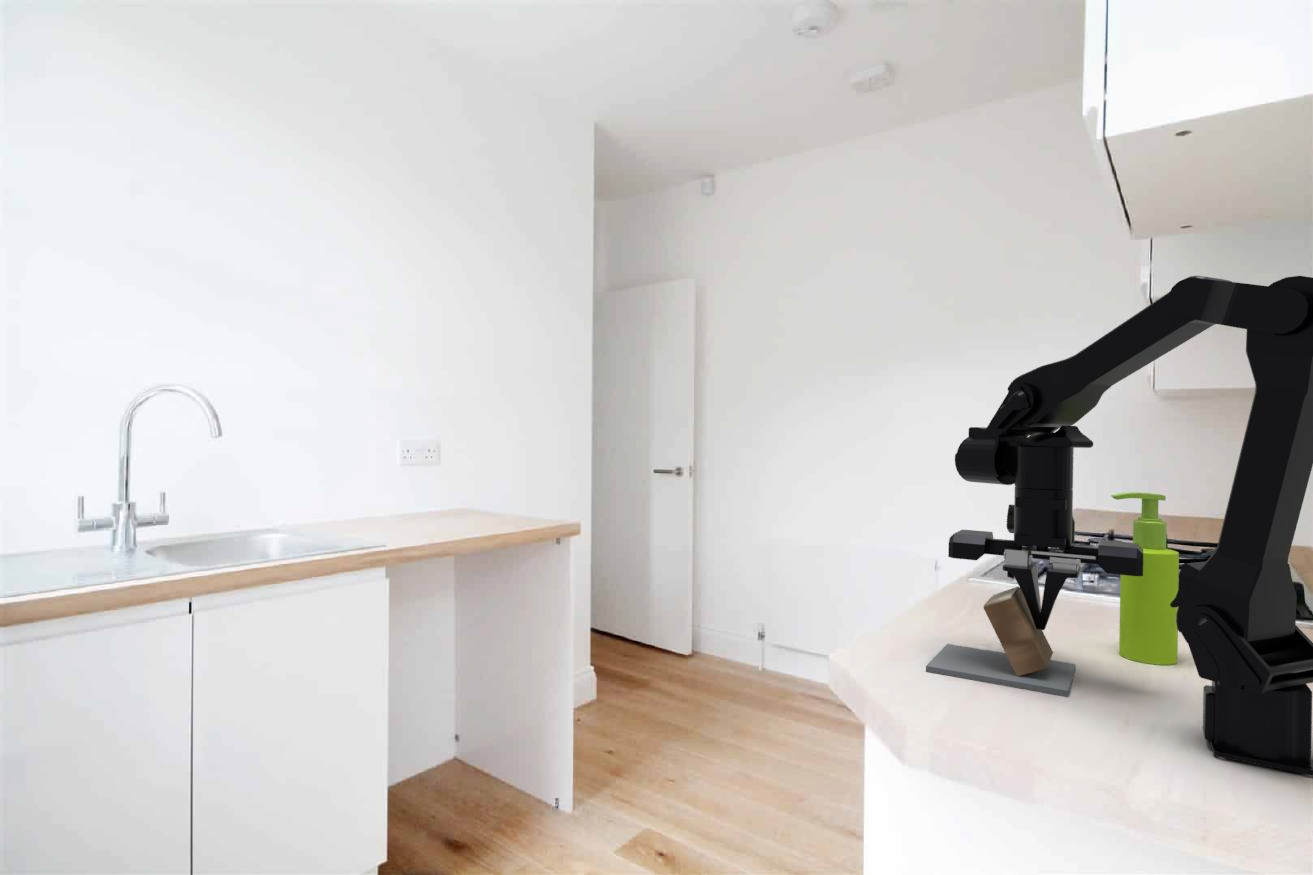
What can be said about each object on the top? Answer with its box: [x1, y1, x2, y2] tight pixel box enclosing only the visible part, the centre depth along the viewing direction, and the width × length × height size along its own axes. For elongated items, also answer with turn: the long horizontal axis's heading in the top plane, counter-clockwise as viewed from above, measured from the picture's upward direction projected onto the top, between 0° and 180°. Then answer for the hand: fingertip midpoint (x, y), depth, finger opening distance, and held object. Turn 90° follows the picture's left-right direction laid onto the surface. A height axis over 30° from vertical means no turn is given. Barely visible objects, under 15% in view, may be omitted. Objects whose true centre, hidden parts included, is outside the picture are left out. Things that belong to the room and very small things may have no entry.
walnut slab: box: [983, 585, 1054, 676], centre depth 83 cm, size 3×7×8 cm, turn 147°
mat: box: [925, 643, 1076, 698], centre depth 84 cm, size 14×11×1 cm
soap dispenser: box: [1110, 491, 1180, 666], centre depth 90 cm, size 6×7×20 cm
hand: (1040, 628), depth 82 cm, fingers closed
